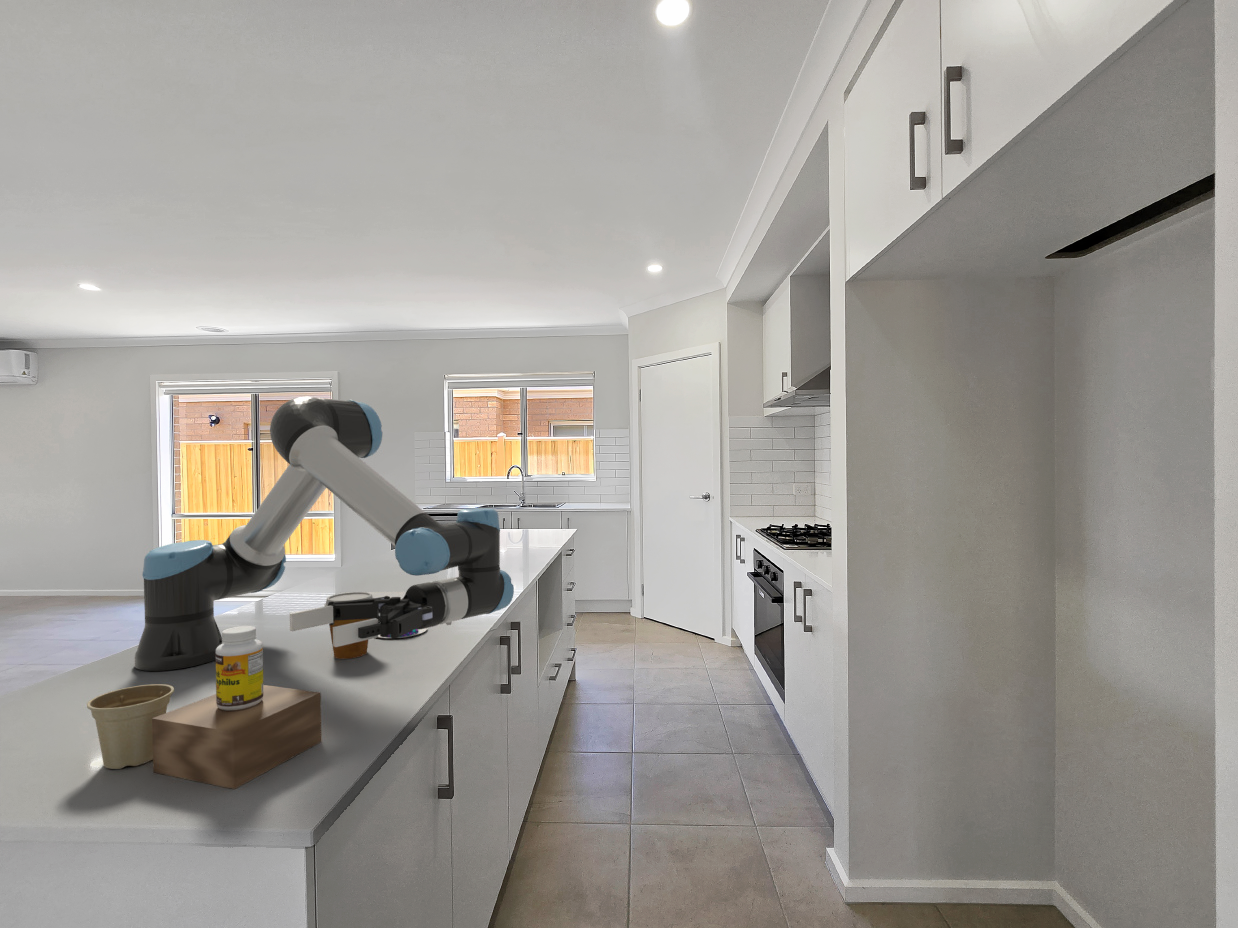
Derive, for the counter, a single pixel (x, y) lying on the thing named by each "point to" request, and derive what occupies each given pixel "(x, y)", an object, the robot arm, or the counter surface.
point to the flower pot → (128, 722)
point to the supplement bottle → (239, 669)
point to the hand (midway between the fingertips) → (311, 629)
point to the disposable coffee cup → (353, 648)
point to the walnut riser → (235, 737)
